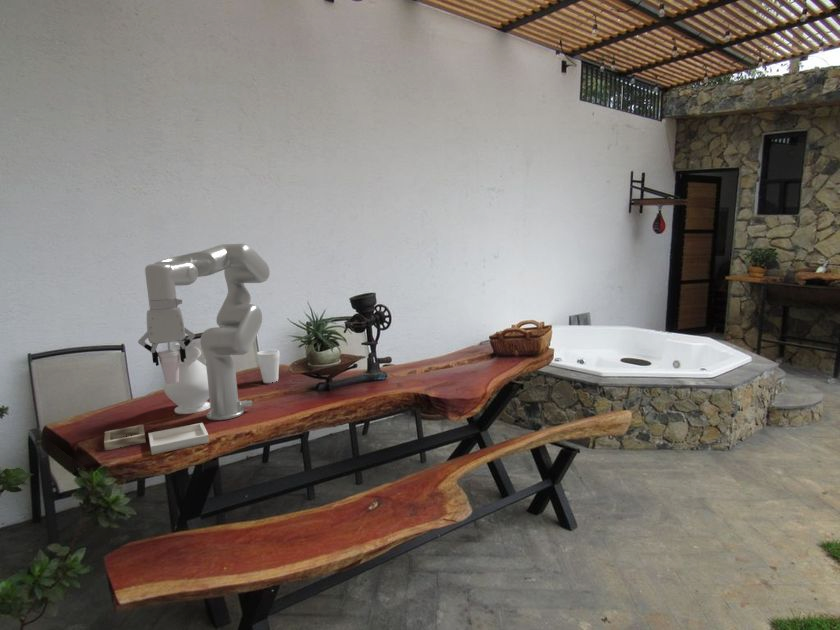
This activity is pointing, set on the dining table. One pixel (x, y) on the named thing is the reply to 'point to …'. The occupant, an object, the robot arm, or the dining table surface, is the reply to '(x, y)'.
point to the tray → (178, 438)
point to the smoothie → (170, 364)
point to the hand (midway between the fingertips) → (169, 362)
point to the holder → (124, 437)
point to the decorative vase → (190, 383)
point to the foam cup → (269, 365)
